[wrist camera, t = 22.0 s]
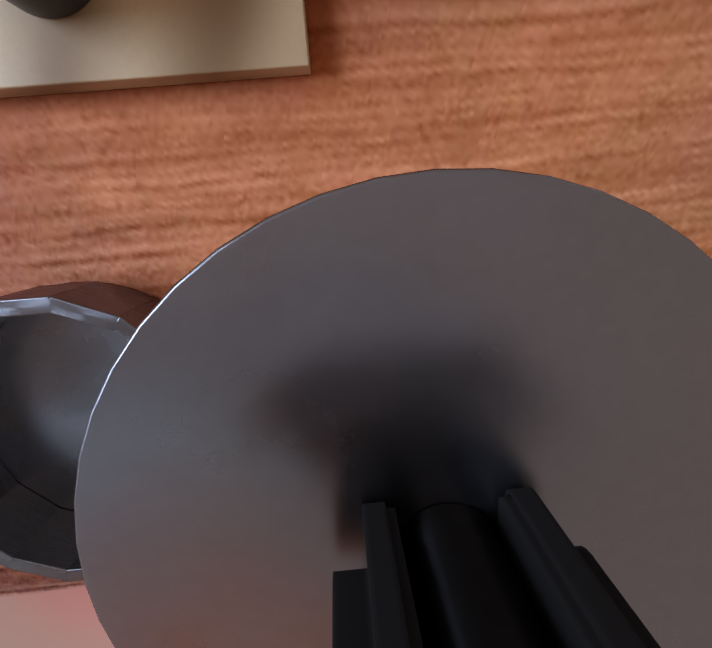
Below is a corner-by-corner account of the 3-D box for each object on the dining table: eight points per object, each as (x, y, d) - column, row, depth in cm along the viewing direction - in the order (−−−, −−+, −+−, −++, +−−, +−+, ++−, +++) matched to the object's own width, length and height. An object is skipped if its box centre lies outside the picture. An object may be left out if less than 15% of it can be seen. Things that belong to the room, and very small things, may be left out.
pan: (12, 532, 28) (-49, 593, 23) (-71, 293, 24) (-163, 313, 19) (256, 510, 28) (240, 566, 24) (216, 270, 24) (189, 284, 19)
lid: (171, 770, 13) (36, 1242, 7) (16, 205, 9) (-662, 201, 3) (703, 708, 14) (994, 1101, 8) (807, 143, 9) (1676, 24, 3)
